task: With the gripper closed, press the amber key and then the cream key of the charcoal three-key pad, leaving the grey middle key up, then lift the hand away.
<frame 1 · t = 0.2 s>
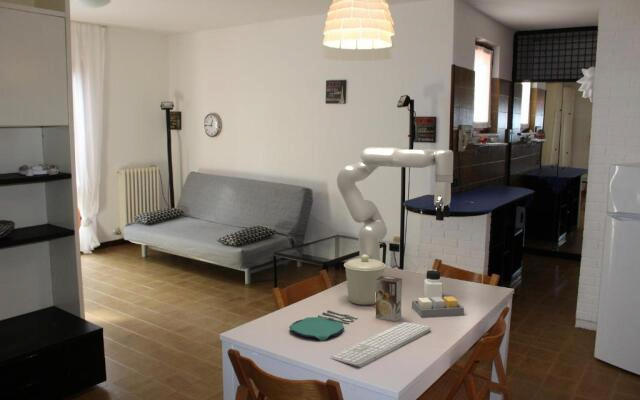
hand: (442, 218, 239), 37 cm above the table, tool pointing down, fingers open, 9 cm apart
medicine bottle: (432, 297, 250), on the table
keyboard: (383, 345, 197), on the table
key cream: (424, 303, 229), point 4 cm above the table, slide at 0.0 cm
keypad frame: (437, 311, 231), on the table
canister: (364, 302, 243), on the table
key amber: (450, 302, 231), point 4 cm above the table, slide at 0.0 cm
cutlery set: (324, 328, 214), on the table
coffee box: (388, 318, 224), on the table
key grey: (437, 302, 230), point 4 cm above the table, slide at 0.0 cm
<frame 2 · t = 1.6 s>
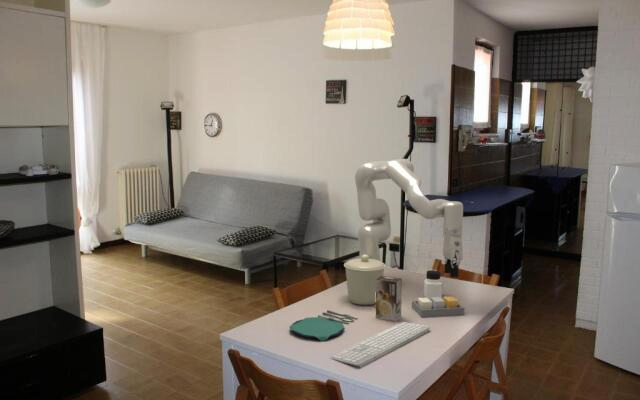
hand: (451, 274, 230), 15 cm above the table, tool pointing down, fingers open, 5 cm apart
nothing on the table moved.
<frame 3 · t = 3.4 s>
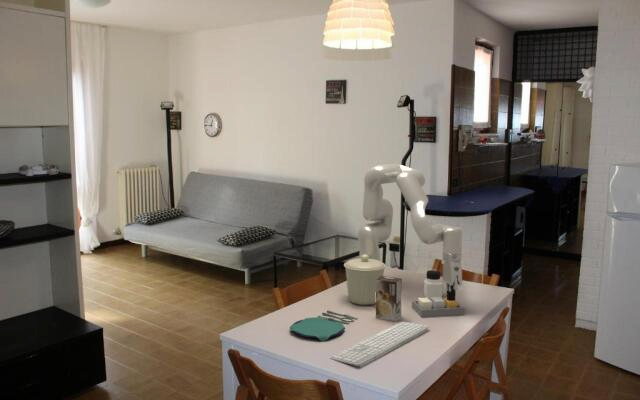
hand: (450, 299, 231), 5 cm above the table, tool pointing down, fingers closed
key amber: (450, 303, 231), point 3 cm above the table, slide at 0.5 cm, touching gripper
everything else where it was.
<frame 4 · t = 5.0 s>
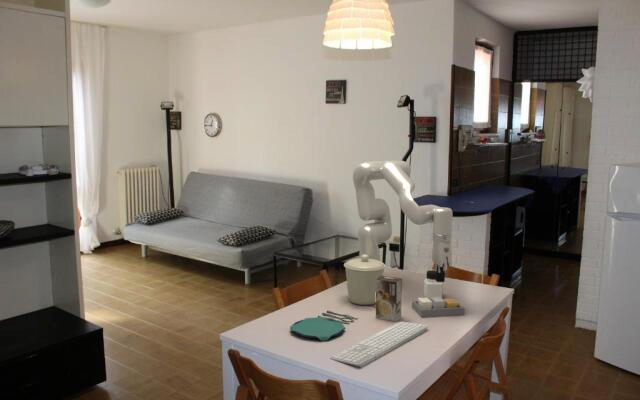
hand: (440, 281, 229), 13 cm above the table, tool pointing down, fingers closed
key amber: (450, 304, 231), point 3 cm above the table, slide at 1.0 cm
everything else where it was.
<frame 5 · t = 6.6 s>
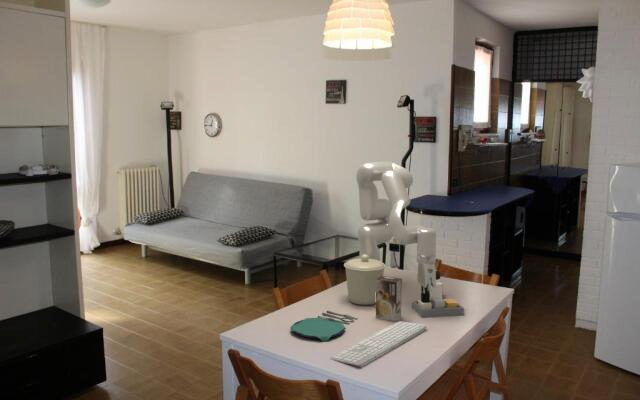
hand: (425, 301, 229), 4 cm above the table, tool pointing down, fingers closed
key cream: (424, 305, 230), point 3 cm above the table, slide at 0.9 cm, touching gripper
everything else where it was.
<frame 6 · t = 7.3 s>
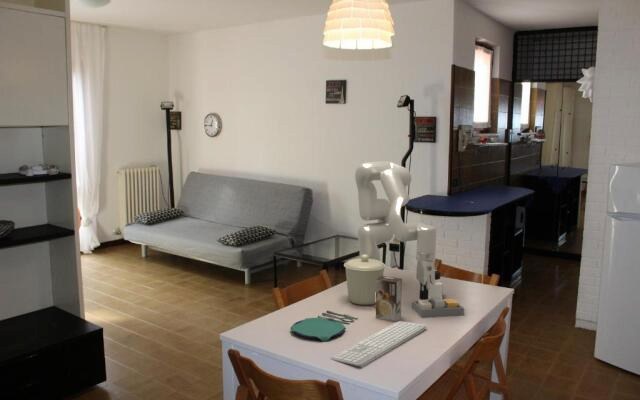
hand: (423, 299, 230), 5 cm above the table, tool pointing down, fingers closed
key cream: (424, 305, 230), point 3 cm above the table, slide at 1.0 cm
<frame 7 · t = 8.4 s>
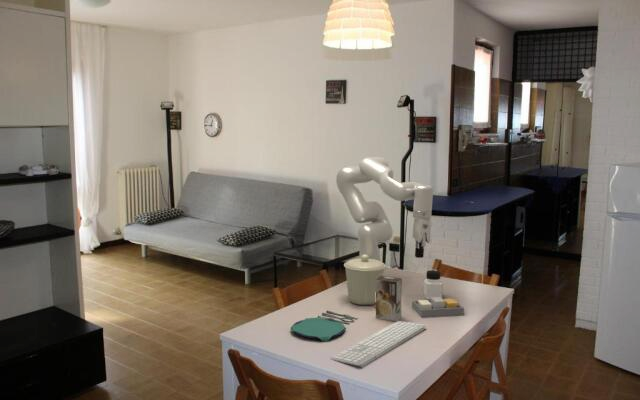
hand: (419, 257, 234), 21 cm above the table, tool pointing down, fingers closed
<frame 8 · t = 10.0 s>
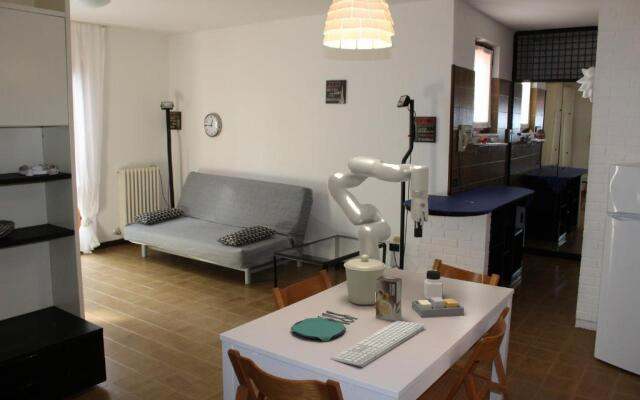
hand: (418, 237, 238), 29 cm above the table, tool pointing down, fingers closed
at the end: key amber slide at 1.0 cm; key cream slide at 1.0 cm; key grey slide at 0.0 cm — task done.
